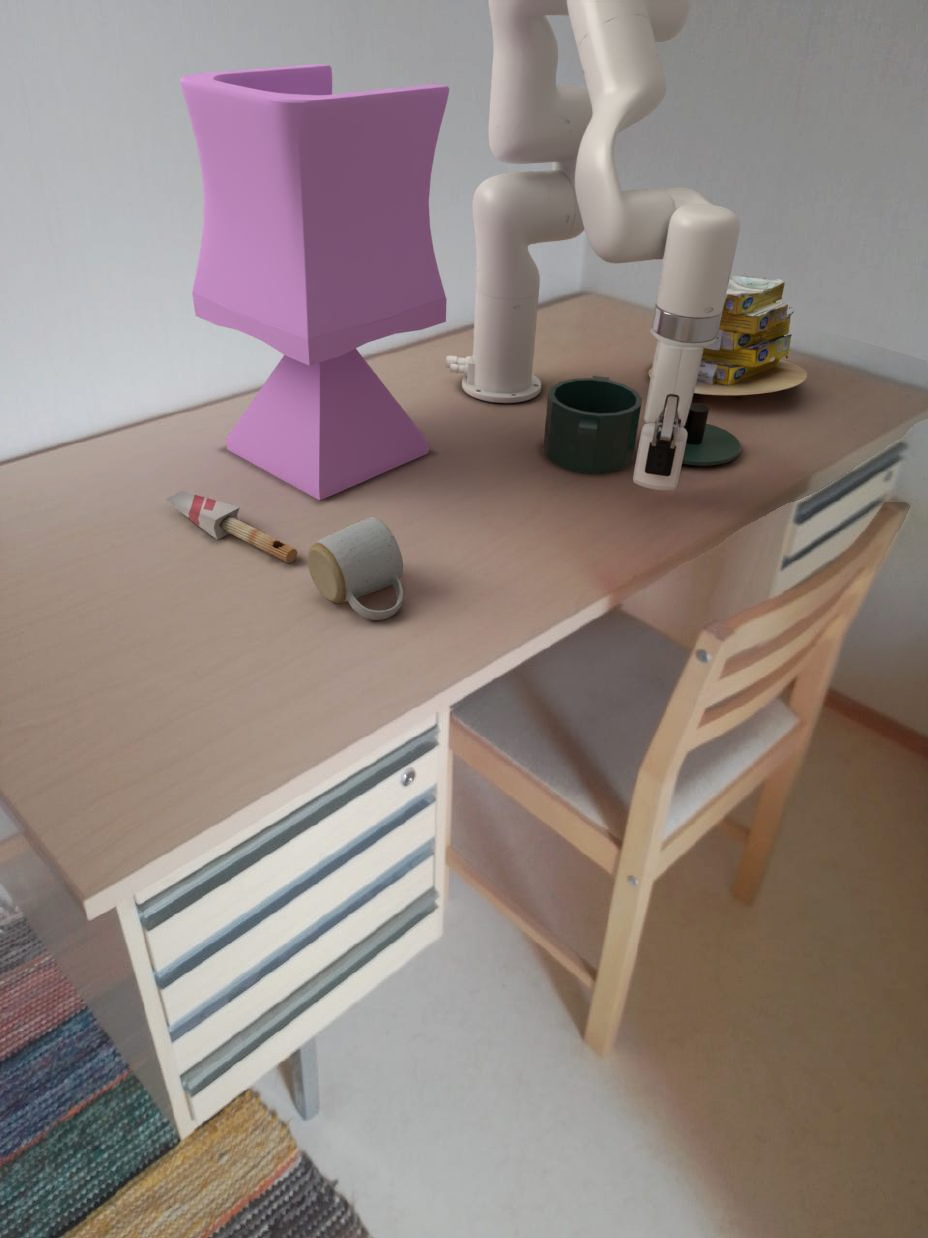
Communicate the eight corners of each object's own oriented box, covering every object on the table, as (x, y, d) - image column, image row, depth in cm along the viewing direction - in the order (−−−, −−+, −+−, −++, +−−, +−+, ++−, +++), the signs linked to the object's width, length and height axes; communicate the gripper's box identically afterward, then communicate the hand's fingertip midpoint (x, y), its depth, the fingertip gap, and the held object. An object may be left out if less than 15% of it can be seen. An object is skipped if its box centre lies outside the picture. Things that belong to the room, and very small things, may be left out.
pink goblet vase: (442, 453, 133) (452, 85, 106) (318, 508, 119) (293, 103, 92) (336, 404, 144) (321, 62, 118) (212, 449, 131) (163, 75, 104)
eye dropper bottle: (662, 497, 119) (679, 408, 111) (626, 480, 122) (641, 392, 114) (682, 487, 121) (701, 398, 114) (647, 470, 124) (663, 383, 117)
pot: (534, 475, 128) (539, 416, 123) (552, 421, 143) (558, 366, 138) (628, 488, 126) (637, 429, 121) (637, 431, 141) (645, 376, 136)
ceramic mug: (304, 587, 105) (300, 527, 100) (365, 563, 109) (364, 504, 105) (360, 635, 99) (358, 573, 94) (422, 607, 103) (424, 547, 98)
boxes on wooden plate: (618, 371, 160) (632, 269, 150) (724, 346, 171) (744, 250, 161) (723, 427, 143) (747, 317, 133) (833, 396, 154) (863, 292, 144)
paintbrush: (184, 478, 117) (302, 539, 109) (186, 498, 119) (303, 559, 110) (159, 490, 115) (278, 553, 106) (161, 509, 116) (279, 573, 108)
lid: (640, 462, 133) (646, 420, 129) (645, 422, 143) (652, 383, 140) (739, 475, 131) (749, 433, 127) (737, 433, 141) (746, 394, 138)
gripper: (656, 295, 116) (633, 433, 127) (648, 344, 103) (622, 493, 114) (719, 302, 115) (690, 441, 126) (718, 353, 102) (686, 502, 113)
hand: (658, 464), depth 120 cm, fingers closed on eye dropper bottle, 3 cm apart
